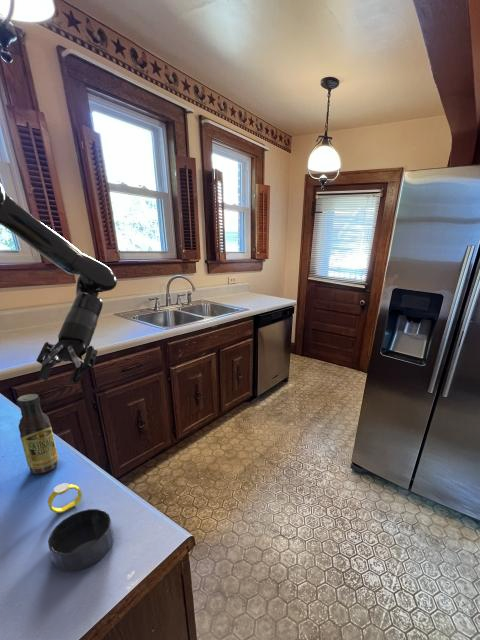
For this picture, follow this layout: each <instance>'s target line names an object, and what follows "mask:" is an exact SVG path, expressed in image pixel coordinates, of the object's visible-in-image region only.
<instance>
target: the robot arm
mask: <svg viewBox="0 0 480 640" xmlns="http://www.w3.org/2000/svg"><path fill="white" fill-rule="evenodd" d="M0 225H1V226H3V227H4V228H5V229H6V230H9V232H11V233H13V234H14V235H15V236H17V237H18V238H20V239H21V240H22V241H23V242H24V243H26V244H27V245H28V246H29V247H31V248H32V249H33V250H34V251H36V252H37V253H39V255H41V256H42V257H44V258H45V259H46V260H47V261H49V262H51V263H52V264H54V265H55V266H57V267H58V269H61V270H62V271H64V272H65V273H67V274H69V275H79V276H78V277H77V280H76V289H75V298H74V299H73V302H72V305H71V307H70V309H69V311H68V312H67V314H66V316H65V318H64V321H63V324H62V325H61V329H60V331H59V333H58V335H57V337H58V341H57V342H56V343H55V344H53V343H50V342H49V341H45V342H44V344H43V345H42V347H41V350H40V352H39V353H38V356H37V358H36V362H37V363H39V364H40V365H41V368H40V370H39V372H38V379H39V380H41V381H45V382H46V381H48V380H49V378H50V375H51V372H52V370H53V368H54V366H56V365H57V364H60V363H62V362H71V363H74V365H75V367H74V368H73V371H72V373H71V375H70V378H69V383H72V384H78V383H79V382H80V381H81V379H82V376H83V374H84V372H85V371H86V370H92V369H93V368H94V365H95V362H96V358H97V355H98V349H97V348H95V347H94V346H93V345H90V344H91V342H92V339H93V337H94V334H95V331H96V329H97V326H98V321H99V317H100V316H101V312H102V310H103V305H104V303H103V300H102V299H101V298H100V297H99V294H101V293H104V292H105V293H106V292H109V291H110V292H111V291H112V290H113V289H115V288H116V287H117V284H118V280H117V277H116V275H115V273H114V272H113V270H112V269H111V268H110V267H108V266H107V265H106V264H104V263H102V262H100V261H98V260H96V259H95V258H93V257H91V256H88V255H87V254H85V253H82V252H81V250H79V249H78V248H77V247H76V246H74V245H73V244H72V243H70V242H69V240H66V239H65V238H64V237H63V236H61V235H60V234H59V233H57V232H56V231H54V230H53V229H51V228H50V227H48V226H47V225H45V224H44V223H43V222H41V221H40V220H39V219H37V218H36V217H34V216H33V215H32V214H31V213H29V212H28V211H27V210H26V209H24V208H23V207H22V206H20V204H18V203H17V202H16V201H14V199H13V198H11V197H10V196H9V194H7V193H6V192H5V190H4V188H3V186H2V184H1V183H0ZM83 356H85V357H83Z"/></svg>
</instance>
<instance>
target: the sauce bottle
mask: <svg viewBox="0 0 480 640" xmlns="http://www.w3.org/2000/svg"><path fill="white" fill-rule="evenodd" d="M40 401H41V399H40V396H39V394H36V393H28V394H24V395H21V396H19V397H17V399H16V402H17V405H18V407H19V409H20V412H21V413H20V415H21V418H20V419H19V423H18V430H19V437H20V440H21V445H22V448H23V452H24V456H25V460H26V463H27V466H28V469H29V471H30V472H31V473H33V474H35V473H36V474H35V475H37V473H44V472H47V471H50V470H52V469H53V468H54V467H56V466H57V467H58V465H57V464H59V455H58V450H57V446H56V445H57V444H56V441H55V437H54V432H53V427H52V424H51V421H50V418H49V416H48V415H47V414H45V413H44V412H43V410H42V408H41V404H40ZM57 467H56V468H57Z"/></svg>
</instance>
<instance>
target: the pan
mask: <svg viewBox="0 0 480 640" xmlns="http://www.w3.org/2000/svg"><path fill="white" fill-rule="evenodd" d="M112 524H113V523H112V519H111V517H110V514H108V513H107V512H106V511H105V510H102V509H100V508H99V509H98V508H88V509H85V510H80V511H78V512H75V513H73V514H70V515H68V516H67V517H65V518H64V519H62V520H61V521H60V522H59V523H58V524H56V526H54V528H53V530H52V531H51V532H50V534H49V537H48V540H47V543H48V545H47V546H48V550H49V552H50V555H51V559H52V561H53V564H54V565H55V567H56V568H57V569H58V570H60V571H63V572H67V573H73V572H79V571H83V570H85V569H87V568H90V567H92V566H93V565H96V564H97V563H98V562H99V561H101V560H102V559H103V558H104V557H105V556H106V555H107V554H108V553H109V552H110V550H111V548H112V546H113V544H114V540H115V533H114V529H113V525H112Z"/></svg>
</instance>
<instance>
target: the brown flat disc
mask: <svg viewBox="0 0 480 640" xmlns="http://www.w3.org/2000/svg"><path fill="white" fill-rule="evenodd" d="M58 464H59V463H58ZM58 464H57V466H56V467H54V468H53V469H52V470H50V471H47V472H44V473H37V474H36V473H34V475H37V476H38V475H39V476H42V475H46V474H49V473H51V472H53V471H55V470H56V469H57V468H58Z"/></svg>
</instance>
